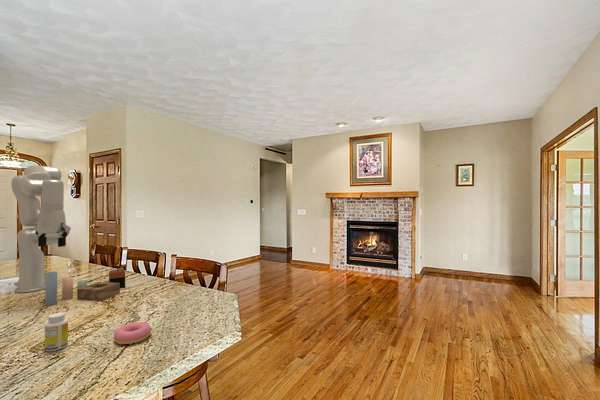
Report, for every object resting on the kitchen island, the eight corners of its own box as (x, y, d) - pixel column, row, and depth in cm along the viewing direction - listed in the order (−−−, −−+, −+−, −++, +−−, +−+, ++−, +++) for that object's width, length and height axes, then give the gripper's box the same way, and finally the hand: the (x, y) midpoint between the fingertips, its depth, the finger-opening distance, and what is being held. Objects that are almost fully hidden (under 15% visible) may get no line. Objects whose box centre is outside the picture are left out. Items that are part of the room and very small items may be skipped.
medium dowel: (59, 299, 135) (59, 280, 135) (67, 296, 139) (67, 277, 139) (67, 300, 135) (67, 280, 135) (75, 297, 139) (75, 278, 139)
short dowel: (75, 294, 143) (75, 282, 143) (82, 291, 147) (82, 279, 147) (82, 294, 143) (82, 282, 143) (89, 292, 147) (89, 280, 147)
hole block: (77, 299, 135) (77, 288, 135) (98, 291, 147) (98, 281, 147) (100, 300, 134) (100, 289, 134) (119, 292, 146) (119, 282, 146)
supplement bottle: (65, 341, 94) (65, 310, 95) (69, 347, 91) (70, 314, 91) (42, 348, 90) (43, 315, 90) (46, 354, 87) (46, 319, 87)
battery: (125, 287, 155) (125, 268, 155) (110, 289, 151) (110, 270, 151) (123, 285, 159) (123, 267, 159) (108, 288, 154) (108, 269, 154)
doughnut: (135, 348, 91) (135, 335, 91) (104, 345, 93) (104, 332, 93) (158, 333, 102) (158, 321, 102) (130, 330, 104) (130, 318, 104)
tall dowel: (42, 305, 127) (43, 273, 127) (51, 302, 131) (51, 271, 131) (50, 306, 127) (51, 273, 127) (59, 302, 131) (59, 271, 131)
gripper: (26, 207, 127) (26, 247, 127) (62, 207, 125) (61, 247, 124) (43, 207, 134) (43, 244, 134) (77, 207, 132) (77, 245, 132)
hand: (52, 246), depth 129 cm, fingers open, 9 cm apart
